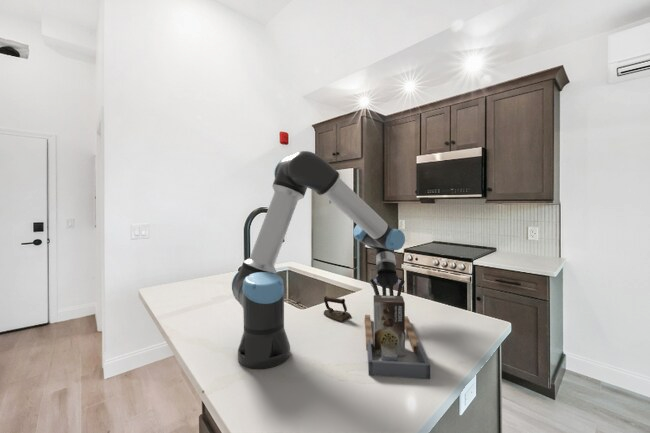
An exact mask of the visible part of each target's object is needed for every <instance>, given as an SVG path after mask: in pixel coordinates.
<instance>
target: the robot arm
mask: <svg viewBox="0 0 650 433" xmlns="http://www.w3.org/2000/svg"><path fill="white" fill-rule="evenodd" d="M340 174H341V173H340V172H339V171H337V170H336V168H335V167H334V166H332V165H331V164H330V163H329V162H328V161H326V159H324V158H323V157H321V156H320V155H318V154H316V153H314V152H312V151H307V150H305V151H304V150H303V151H298V152H296V153H294V154H291V155H287V156H285V157H283V158H282V159H281V160H280V161H279V162H278V163H277V164H276V166H275V167H274V181H273V184H272V186H271V187H272V189H273V191H274V193H273V195H272V198H271V201H270V204H269V206H268V208H267V211H266V214H265V216H264V220H263V222H262V225H261V227H260V230H259V232H258V235H257V237H256V241H255V244H254V246H253V249H252V251H251V253H250V257H249V258H247V259H245V260H243V261H242V262H243V263H242V265H241V267H240V269H239V271H237V272H236V273H235V275H234V276H233V278H232V281H231V291H232V294H233V297H234V299H235V300H236V301H237V302H238V303H239V304H240V305H241V307H242V309H243V332H242V336H241V338H240V339H241V340H240V343H239V346H238V348H237V360H238V363H239V364H240V365H242V366H243V367H246V368H249V369H258V370H259V369H269V368H270V369H271V368H273V367H276V366H278V365H281V364H282V363H284V362H286V361H287V360H288V358H290V356H291V344H290V342H289V338H288V335H287V332H286V329H285V286H284V280H283V278H282V277H281V276H280V275H279V274H277V270H276V267H275V264H276V261H277V258H278V257H279V254H280V250H281V248H282V245H283V243H284V241H285V240H284V239H285V236H286V235H287V231H288V230H289V229H288V228H289V227H290V224H291V221H292V218H293V215H294V212H295V209H296V207H297V205H298V202H299V201H300V200H302V199H304V198H305V195H306V192H307V189H310V190H312V191H314V192H315V193H316V194H317V195H319V196H321V197H322V196H325V198H326V199H327V200H329V202H331V203H332V204H333V205H334V206H336V208H338V210H340V211H341V212H342V213H344V214H345V215H346V216H347V217H348V218H349V219H350V220H351V221H352V222H354V224H356V225H355V227H354V228H353V231H352V236H353V238H354V239H355V240H357V241H358V242H360V243H362V244H364V245H365V246H367V247H369V249H370V248H371V249H372V250H374V251H375V260H376V261H375V262H376V276H375V278H374V279H372V278H371V279H370V286H371V288H373V292H374V295H386V296H387V288H388V292H389V296H395V295H394V287H395V285H396V284H397V286H398V289H397V294H396V296H402V295H401V294H402V289H403V288H404V286H405V280H404V279H402V280H401V279H400V278H399V277H398V273H397V272H398V271H397V264H396V263H397V261H396V253H395V251H399V250H401V249H402V248H403V247H404V245H405V241H406V236H405V233H404V232H403V231H402V230H400V229H397V228H393V227H392V226H391V225H390V224H389V223H387V222H386V220H384V219H383V218H382V217H381V216H380V215H379V214H378V213H377V212H376V211H375V210H374V209H373V208H372V207H370V206H369V205H368V204H367V203H366V202H365V201H364V200H363V199H362V198H361V197H360V196H359V195H358V194H357V193H356V192H355V191H354V190H353V189H352V188H351V187H350V186H348V184H346V183H345V181H343V180H342V179H341V178H340V176H341V175H340ZM378 285H379V286H380V288H382V289H381V290H382V294H380V291H379V288H378Z"/></svg>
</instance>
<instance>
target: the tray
mask: <svg viewBox="0 0 650 433" xmlns="http://www.w3.org/2000/svg"><path fill="white" fill-rule="evenodd" d="M372 352H373V351H372V349H371V339H367V352H366V353H367V354H366V355H367V368H368V376H375V377H377V376H378V377H379V376H380V377H395V378H409V379H410V378H412V379H428V380H430V379H431V364H430V362H429V360H428V357H427V354H426V353H425V351H424V348H423V346H422V343H421V342H420V341H418V342H416V353H415V354H416V356H417V359H418V361H419V362H412V361H411V362H409V361H398V362H396V361H381V360H377V359H376V360H374V359H373V353H372Z"/></svg>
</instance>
